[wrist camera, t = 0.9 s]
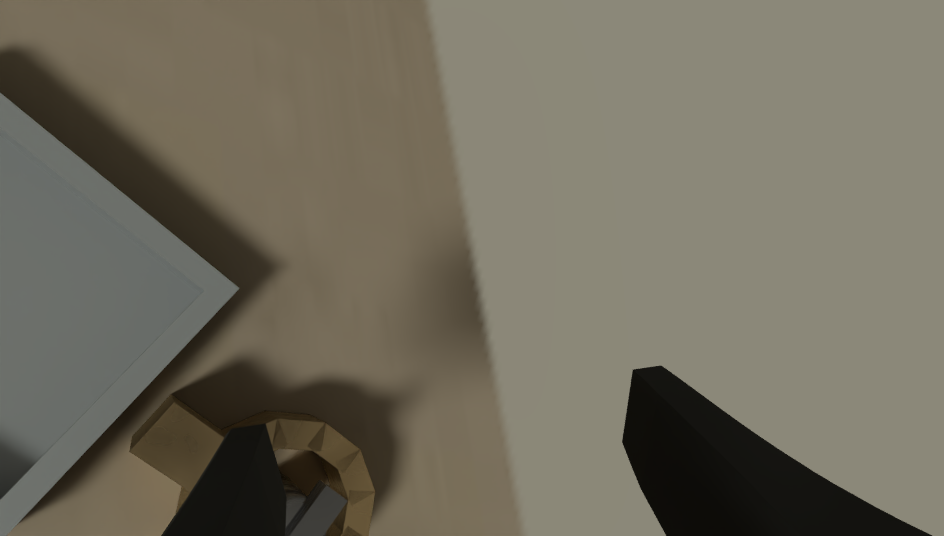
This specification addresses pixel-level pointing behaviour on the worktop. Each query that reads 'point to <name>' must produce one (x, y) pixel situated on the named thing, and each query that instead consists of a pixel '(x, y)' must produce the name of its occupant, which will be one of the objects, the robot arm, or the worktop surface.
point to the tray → (79, 307)
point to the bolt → (310, 509)
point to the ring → (196, 440)
